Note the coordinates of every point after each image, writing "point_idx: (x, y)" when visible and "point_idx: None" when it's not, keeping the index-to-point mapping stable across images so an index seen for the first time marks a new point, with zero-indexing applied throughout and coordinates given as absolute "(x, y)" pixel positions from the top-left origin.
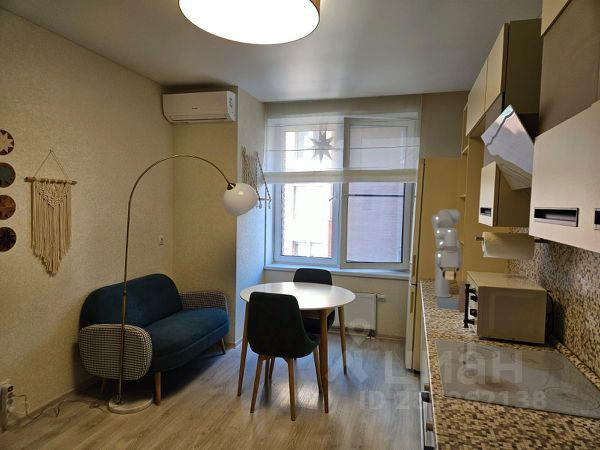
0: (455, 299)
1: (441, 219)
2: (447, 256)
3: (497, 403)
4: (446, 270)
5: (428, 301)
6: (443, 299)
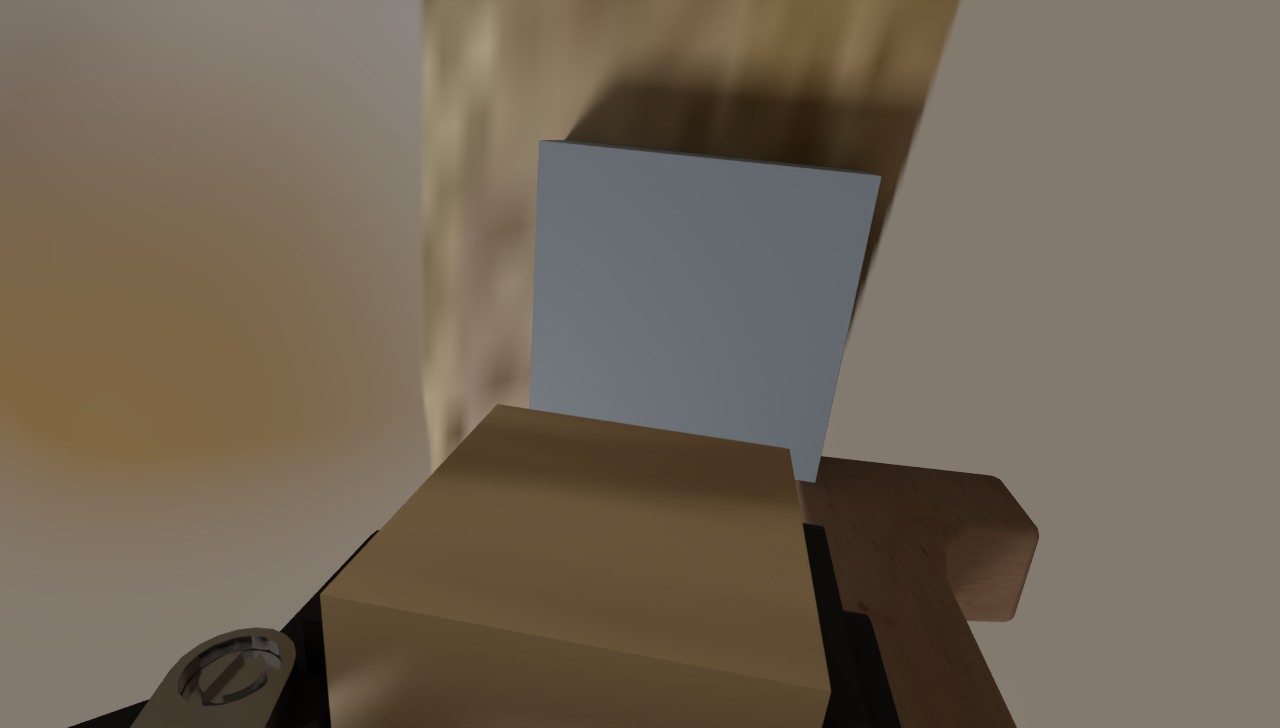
0: (840, 199)
1: None
2: None
3: None
4: (410, 716)
5: (445, 72)
6: (626, 254)
